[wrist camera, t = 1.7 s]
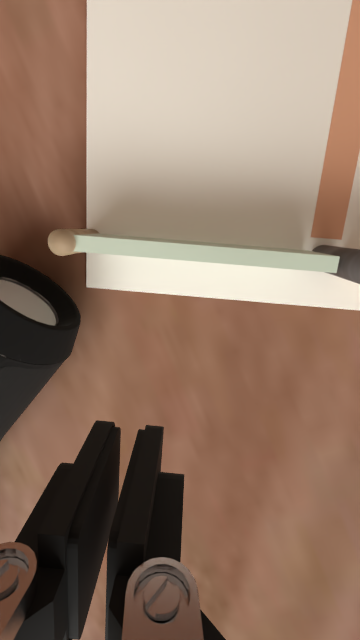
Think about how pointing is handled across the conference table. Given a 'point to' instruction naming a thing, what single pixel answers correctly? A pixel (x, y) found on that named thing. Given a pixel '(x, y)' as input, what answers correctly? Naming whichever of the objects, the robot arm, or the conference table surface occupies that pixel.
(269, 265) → the folding fence panel
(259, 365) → the conference table surface
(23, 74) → the conference table surface
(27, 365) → the portable speaker
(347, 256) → the fixed fence section
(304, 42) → the card
